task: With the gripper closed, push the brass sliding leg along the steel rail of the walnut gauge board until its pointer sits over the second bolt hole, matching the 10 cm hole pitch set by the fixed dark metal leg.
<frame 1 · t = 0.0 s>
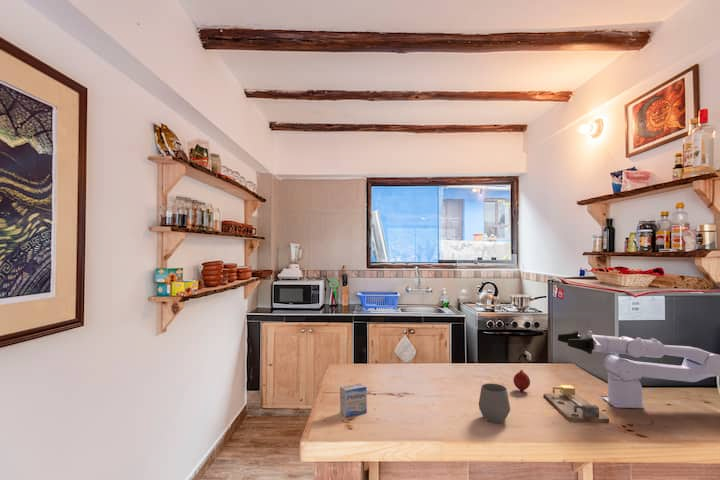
hand: (563, 340, 136), 22 cm above the countertop, tool horizontal, fingers open, 7 cm apart
cup: (494, 419, 123), on the countertop
medicine box: (353, 413, 128), on the countertop
gauge board: (573, 408, 131), on the countertop
sliding leg: (562, 390, 139), point 3 cm above the countertop, slide at 0.0 cm
onion: (521, 391, 147), on the countertop
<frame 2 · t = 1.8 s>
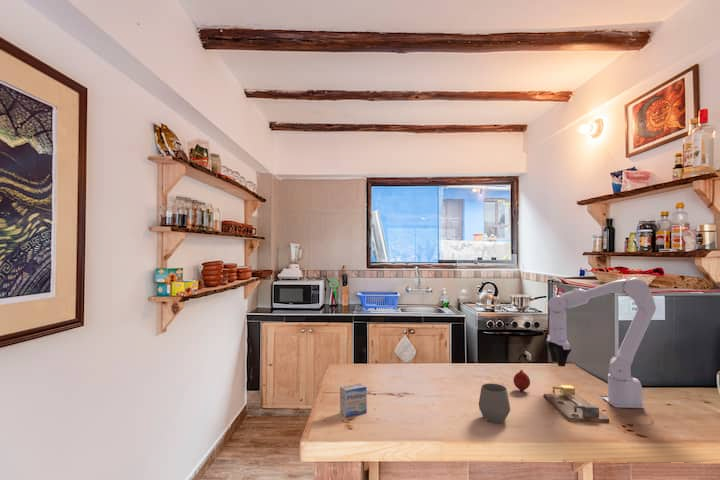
hand: (558, 363, 146), 10 cm above the countertop, tool pointing down, fingers open, 5 cm apart
nothing on the countertop moved.
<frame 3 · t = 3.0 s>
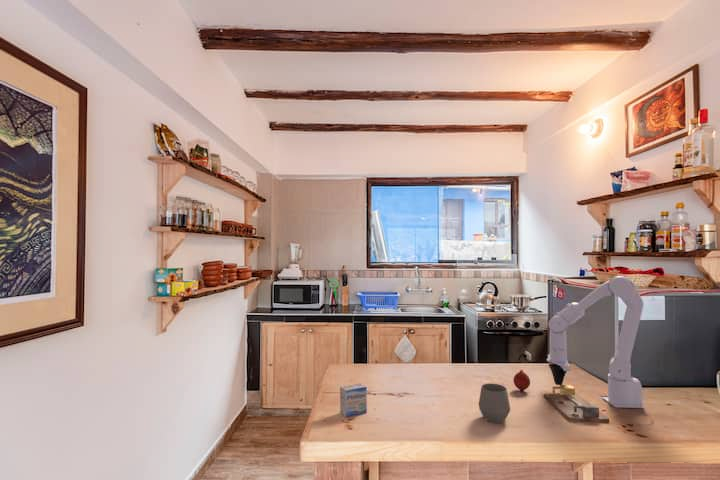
hand: (558, 384, 146), 3 cm above the countertop, tool pointing down, fingers closed
nothing on the countertop moved.
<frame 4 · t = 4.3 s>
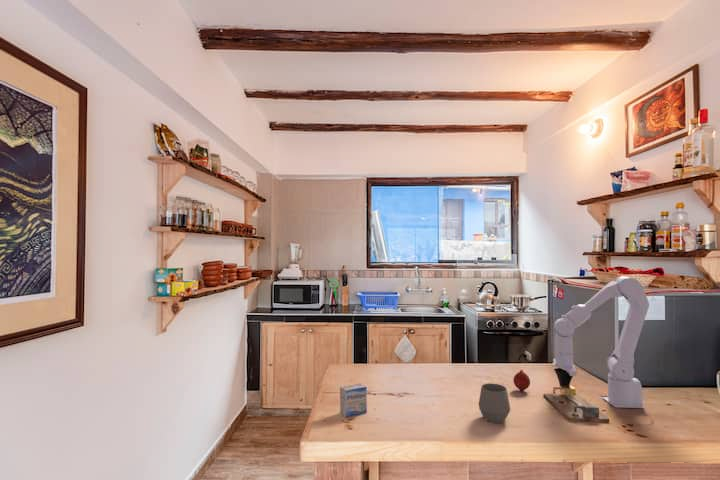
hand: (564, 389, 141), 2 cm above the countertop, tool pointing down, fingers closed
sliding leg: (563, 390, 138), point 3 cm above the countertop, slide at 0.4 cm, touching gripper
everything else where it was.
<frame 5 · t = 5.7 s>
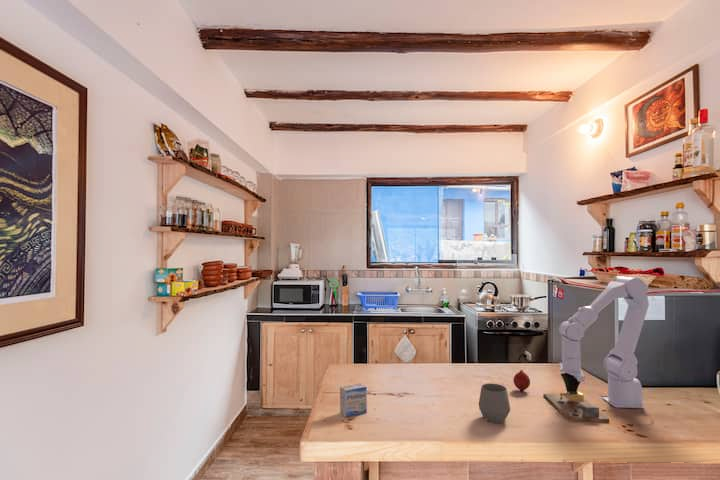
hand: (571, 395, 136), 2 cm above the countertop, tool pointing down, fingers closed
sliding leg: (570, 396, 133), point 3 cm above the countertop, slide at 6.0 cm, touching gripper
everything else where it was.
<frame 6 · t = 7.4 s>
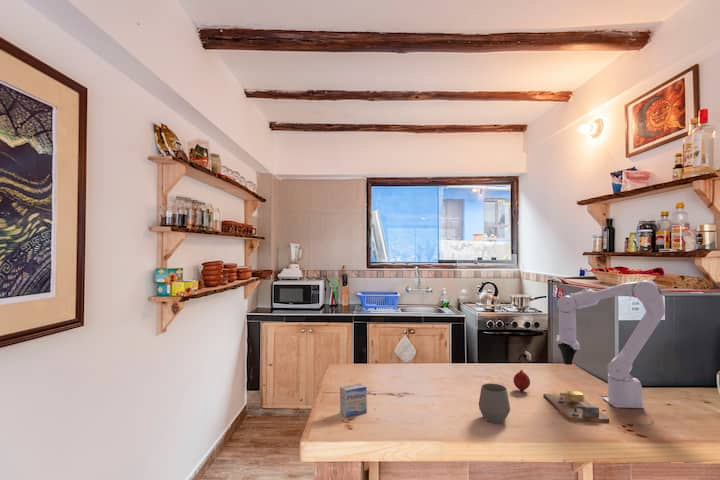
hand: (567, 364, 146), 10 cm above the countertop, tool pointing down, fingers closed
sliding leg: (570, 396, 133), point 3 cm above the countertop, slide at 6.0 cm
everything else where it was.
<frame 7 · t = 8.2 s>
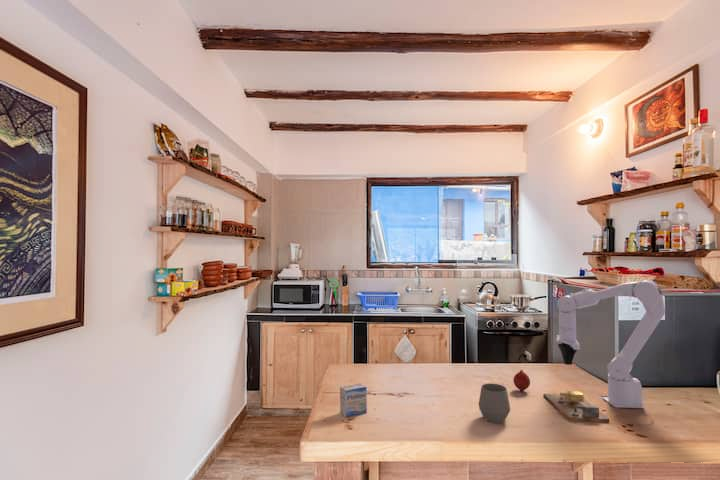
hand: (567, 364, 146), 10 cm above the countertop, tool pointing down, fingers closed
nothing on the countertop moved.
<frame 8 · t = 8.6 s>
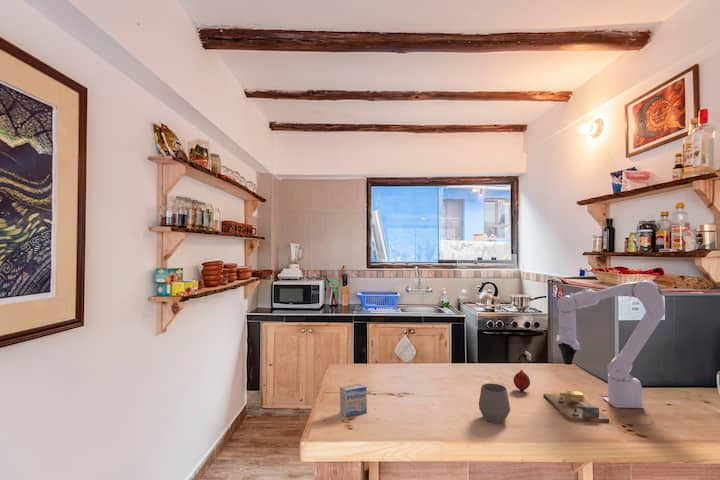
hand: (567, 364, 146), 10 cm above the countertop, tool pointing down, fingers closed
nothing on the countertop moved.
at the end: sliding leg slide at 6.0 cm; onion moved 0.2 cm from its start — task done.
